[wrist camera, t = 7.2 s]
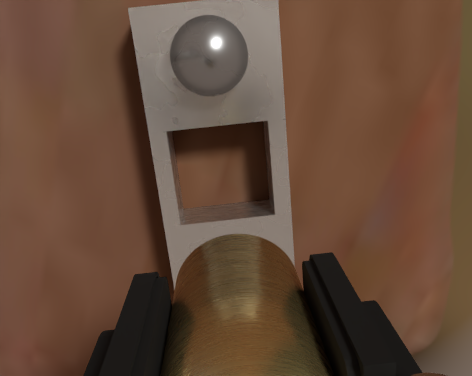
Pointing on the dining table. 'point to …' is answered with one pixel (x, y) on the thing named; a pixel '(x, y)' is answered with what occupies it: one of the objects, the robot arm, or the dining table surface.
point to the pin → (241, 314)
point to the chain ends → (214, 109)
